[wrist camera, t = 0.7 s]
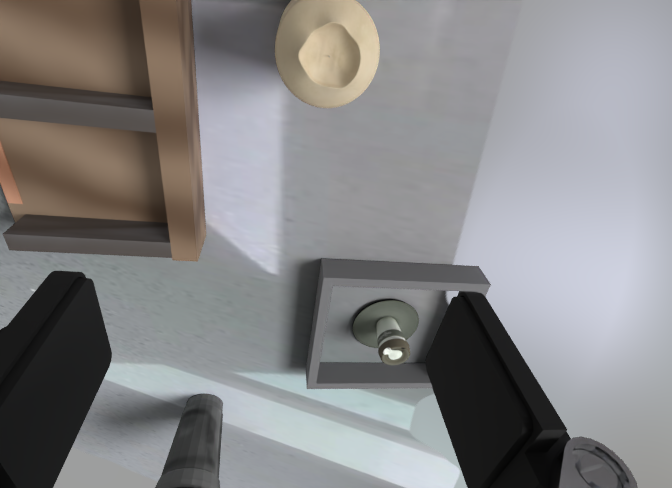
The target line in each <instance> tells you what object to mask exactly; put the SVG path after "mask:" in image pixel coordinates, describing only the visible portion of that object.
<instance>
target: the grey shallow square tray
mask: <svg viewBox="0 0 672 488" xmlns="http://www.w3.org/2000/svg"><path fill="white" fill-rule="evenodd" d="M490 285H491V284H490V283H489V281H488V280H487V278H486V277H485V275H484V274H483V272H482V271H481V269H480V268H479V266H461V265H442V264H421V263H401V262H381V261H361V260H341V259H321V265H320V272H319V280H318V287H317V294H316V301H315V308H314V315H313V322H312V329H311V336H310V343H309V350H308V357H307V364H306V381H307V389H370V388H432V385H431V382H430V379H429V376H428V373H427V370H426V363H401V364H399V365H387V364H385V363H320V358H321V352H322V346H323V341H324V335H325V329H326V323H327V317H328V311H329V306H330V300H331V294H332V288H333V286H342V287H368V288H394V289H420V290H447V291H459V293H460V292H475V293H482V294H483V295H484V296H486V294H487V292H488V289H489V287H490ZM459 293H458V294H459Z"/></svg>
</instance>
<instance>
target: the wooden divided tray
mask: <svg viewBox="0 0 672 488" xmlns="http://www.w3.org/2000/svg"><path fill="white" fill-rule="evenodd" d="M0 184H1V187H2V190H3V192H4V195H5V197H6V200H7V202H8V205H9V208H10V210H11V213H12V215H13V218H14V221H15V224H14V225H12V226H11V227H10V228H9V229H8V230H7V231H6V232H4V233H3V236H4V238H5V241H6V243H7V245H8V248H9V250H17V251H38V252H59V253H80V254H102V255H123V256H144V257H166V258H172V260H178V261H198V259H199V256H200V253H201V250H202V247H203V244H204V240H205V237H206V225H205V209H204V193H203V178H202V162H201V147H200V131H199V115H198V100H197V84H196V68H195V53H194V37H193V21H192V6H191V0H0Z"/></svg>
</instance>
